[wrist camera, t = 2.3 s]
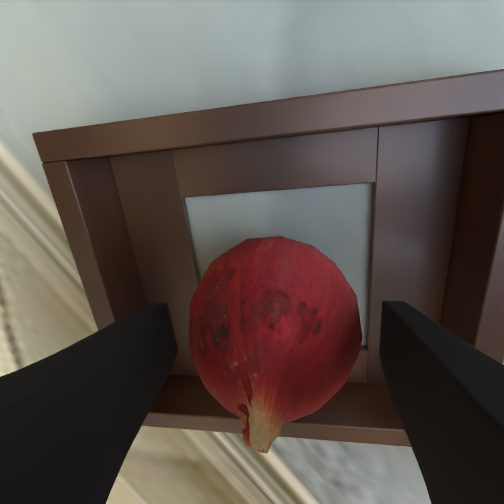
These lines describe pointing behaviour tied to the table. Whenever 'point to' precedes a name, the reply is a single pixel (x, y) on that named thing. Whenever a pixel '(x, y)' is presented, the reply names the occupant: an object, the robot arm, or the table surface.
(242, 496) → the table surface
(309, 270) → the onion
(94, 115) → the table surface
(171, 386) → the tray
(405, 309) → the robot arm
